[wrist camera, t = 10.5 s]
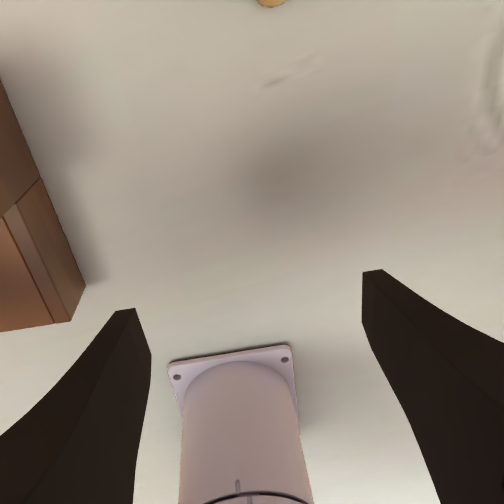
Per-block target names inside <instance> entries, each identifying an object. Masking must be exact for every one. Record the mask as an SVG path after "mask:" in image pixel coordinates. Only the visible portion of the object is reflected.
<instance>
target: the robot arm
mask: <svg viewBox="0 0 504 504" xmlns="http://www.w3.org/2000/svg"><path fill="white" fill-rule="evenodd" d="M362 324H363V327H364V330H365V333H366V335H367V338H368V341H369V343H370V346H371V349H372V351H373V353H374V355H375V357H376V359H377V361H378V362H379V364H380V366H381V368H382V370H383V372H384V374H385V376H386V378H387V380H388V381H389V383H390V385H391V387H392V389H393V391H394V393H395V395H396V397H397V399H398V400H399V402H400V404H401V406H402V408H403V410H404V412H405V414H406V416H407V418H408V420H409V423H410V425H411V427H412V430H413V432H414V435H415V437H416V440H417V442H418V445H419V447H420V450H421V452H422V455H423V457H424V460H425V463H426V465H427V468H428V470H429V473H430V476H431V478H432V481H433V484H434V486H435V489H436V492H437V495H438V497H439V500H440V503H441V504H504V343H503V342H501V341H498V340H496V339H494V338H492V337H490V336H488V335H486V334H484V333H482V332H480V331H478V330H476V329H474V328H472V327H470V326H468V325H466V324H465V323H463V322H461V321H459V320H458V319H456V318H454V317H452V316H451V315H449V314H447V313H446V312H444V311H442V310H441V309H439V308H438V307H436V306H434V305H433V304H431V303H430V302H428V301H427V300H425V299H424V298H422V297H421V296H419V295H418V294H416V293H415V292H413V291H412V290H411V289H409V288H408V287H406V286H405V285H404V284H402V283H401V282H399V281H398V280H397V279H395V278H394V277H392V276H391V275H390V274H388V273H387V272H385V271H384V270H382V269H380V270H373V271H367V272H363V280H362ZM151 356H152V355H151V352H150V349H149V346H148V344H147V341H146V338H145V335H144V332H143V329H142V326H141V324H140V321H139V318H138V315H137V312H136V309H135V308H132V309H125V310H119V311H115V313H114V314H113V315H112V316H111V318H110V319H109V320H108V321H107V323H106V324H105V325H104V327H103V328H102V329H101V330H100V332H99V333H98V334H97V336H96V337H95V338H94V340H93V341H92V342H91V343H90V345H89V346H88V347H87V348H86V350H85V351H84V352H83V353H82V355H81V356H80V357H79V358H78V360H77V361H76V362H75V363H74V364H73V365H72V367H71V368H70V369H69V370H68V371H67V372H66V373H65V375H64V376H63V377H62V378H61V379H60V380H59V381H58V382H57V384H56V385H55V386H54V387H53V388H52V389H51V390H50V391H49V392H48V393H47V394H46V395H45V396H44V397H43V398H42V399H41V400H40V401H39V402H38V403H37V404H36V405H35V406H34V407H33V408H32V409H31V410H30V411H29V412H27V413H26V414H25V415H24V416H23V417H22V418H21V419H20V420H18V421H17V422H16V423H15V424H14V425H13V426H11V427H10V428H9V429H8V430H7V431H6V432H4V433H3V434H2V435H1V436H0V504H133V493H134V481H135V469H136V461H137V454H138V448H139V443H140V438H141V432H142V427H143V422H144V416H145V411H146V405H147V400H148V394H149V388H150V378H151ZM283 357H286V358H283ZM167 372H168V375H169V378H170V381H171V384H172V387H173V390H174V394H175V397H176V400H177V403H178V406H179V409H180V412H181V415H182V418H183V427H182V445H181V463H180V481H179V498H178V504H314V501H313V496H312V491H311V487H310V482H309V477H308V473H307V468H306V463H305V459H304V454H303V450H302V445H301V440H300V430H299V420H298V410H297V400H296V390H295V381H294V371H293V361H292V352H291V348H290V347H289V346H288V345H278V346H272V347H266V348H259V349H253V350H247V351H241V352H234V353H228V354H222V355H216V356H209V357H203V358H197V359H191V360H184V361H178V362H173V363H170V364H169V365H168V370H167ZM176 374H179V375H176Z"/></svg>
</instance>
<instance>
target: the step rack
mask: <svg viewBox="0 0 504 504" xmlns="http://www.w3.org/2000/svg"><path fill="white" fill-rule="evenodd" d="M39 177H40V176H39V173H38V171H37V168H36V166H35V163H34V161H33V159H32V156H31V154H30V151H29V149H28V147H27V144H26V142H25V139H24V137H23V135H22V132H21V130H20V127H19V125H18V122H17V120H16V118H15V115H14V113H13V110H12V108H11V106H10V103H9V101H8V98H7V96H6V94H5V91H4V89H3V86H2V84H1V82H0V332H5V331H12V330H18V329H24V328H31V327H37V326H43V325H50V324H54V323H63V322H69V321H71V320H72V317H73V315H74V312H75V310H76V308H77V305H78V303H79V301H80V298H81V296H82V294H83V291H84V289H85V284H84V282H83V279H82V277H81V274H80V272H79V269H78V267H77V265H76V262H75V260H74V257H73V255H72V253H71V250H70V248H69V245H68V243H67V241H66V238H65V236H64V233H63V231H62V229H61V226H60V224H59V221H58V219H57V216H56V214H55V212H54V209H53V207H52V204H51V202H50V200H49V197H48V195H47V192H46V190H45V188H44V185H43V183H42V180H41V178H39Z"/></svg>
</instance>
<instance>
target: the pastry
mask: <svg viewBox="0 0 504 504" xmlns="http://www.w3.org/2000/svg"><path fill="white" fill-rule="evenodd" d="M257 1H258V3H259V4H261V5H262V6H264V7H269V8H273V7H276V6H279V5H281V4H283V3H284V2H285V1H286V0H257Z"/></svg>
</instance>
